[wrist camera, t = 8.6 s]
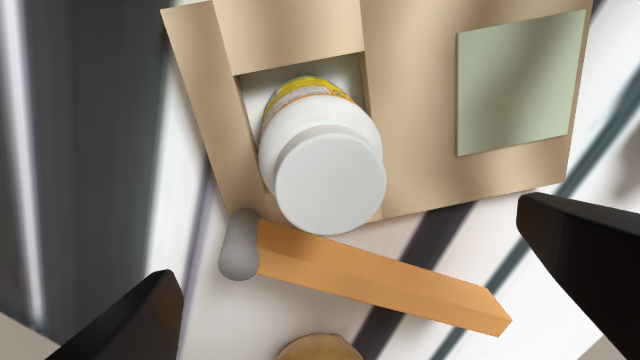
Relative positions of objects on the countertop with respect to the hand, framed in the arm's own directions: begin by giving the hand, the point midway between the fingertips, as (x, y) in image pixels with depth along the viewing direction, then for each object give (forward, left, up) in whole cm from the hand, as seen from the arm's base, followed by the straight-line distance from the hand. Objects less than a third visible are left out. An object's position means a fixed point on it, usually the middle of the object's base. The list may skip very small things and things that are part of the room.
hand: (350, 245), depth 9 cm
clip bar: (-2, +10, -11) cm, 15 cm away
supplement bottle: (0, 0, -13) cm, 13 cm away
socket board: (-5, 0, -13) cm, 14 cm away
